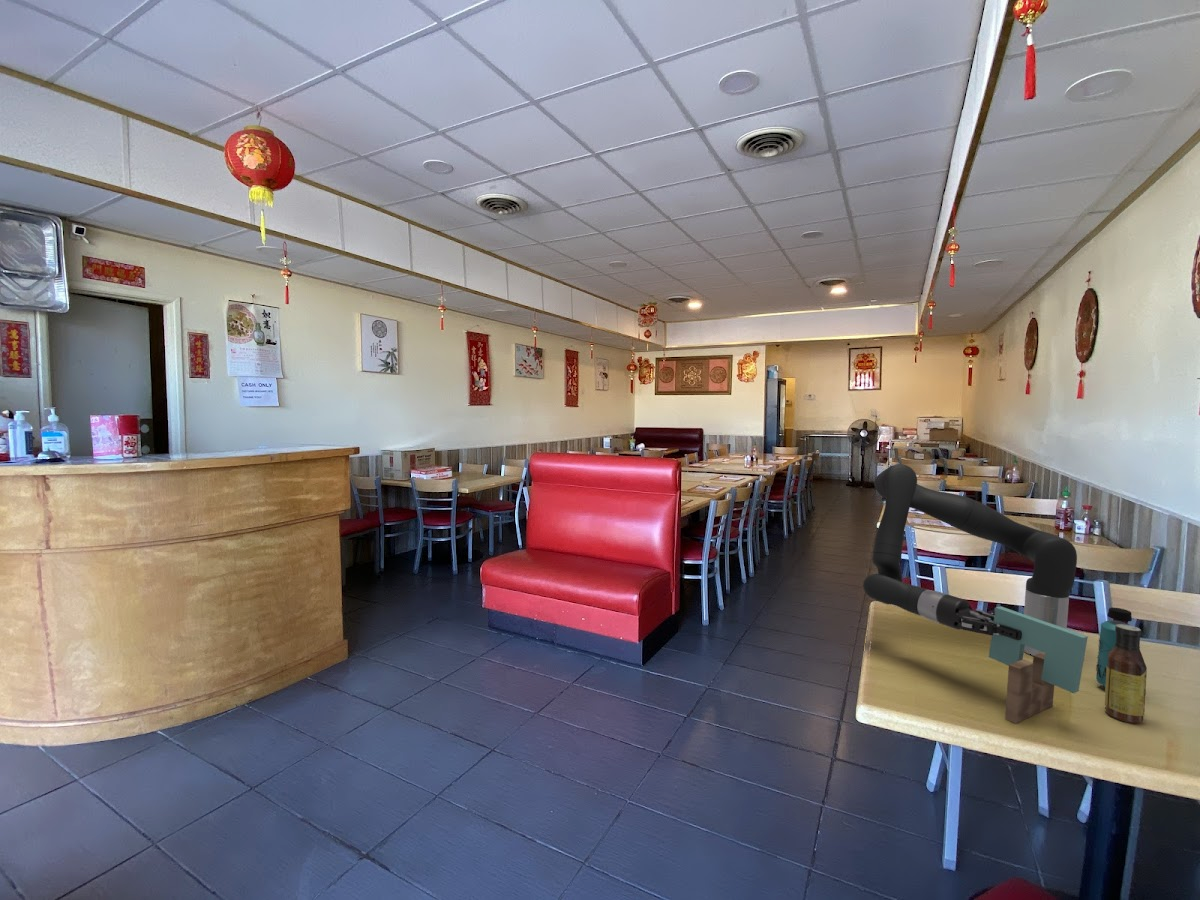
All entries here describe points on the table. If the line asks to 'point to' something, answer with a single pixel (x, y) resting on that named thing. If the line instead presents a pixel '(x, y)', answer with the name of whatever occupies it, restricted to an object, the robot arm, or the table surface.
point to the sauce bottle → (1126, 676)
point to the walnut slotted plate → (1027, 689)
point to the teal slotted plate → (1041, 647)
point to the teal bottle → (1109, 640)
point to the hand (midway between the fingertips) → (1023, 634)
